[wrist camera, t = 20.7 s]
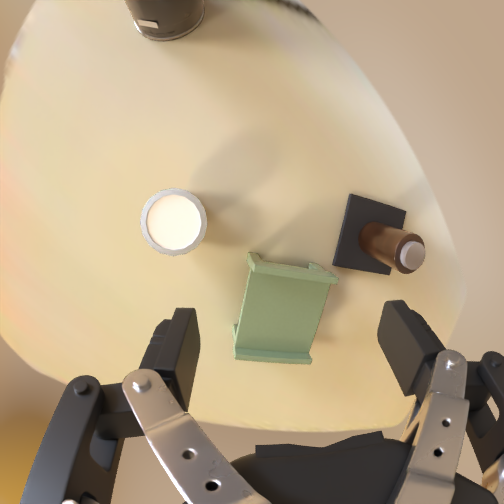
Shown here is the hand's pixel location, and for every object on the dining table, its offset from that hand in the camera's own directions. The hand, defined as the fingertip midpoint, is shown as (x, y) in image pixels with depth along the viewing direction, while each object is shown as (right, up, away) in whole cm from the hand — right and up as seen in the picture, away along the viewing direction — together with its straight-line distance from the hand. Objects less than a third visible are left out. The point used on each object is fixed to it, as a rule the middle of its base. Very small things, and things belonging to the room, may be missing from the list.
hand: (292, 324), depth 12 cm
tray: (+1, -3, +27) cm, 28 cm away
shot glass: (-10, +8, +23) cm, 26 cm away
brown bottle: (+15, +5, +27) cm, 31 cm away
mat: (+15, +5, +27) cm, 32 cm away
